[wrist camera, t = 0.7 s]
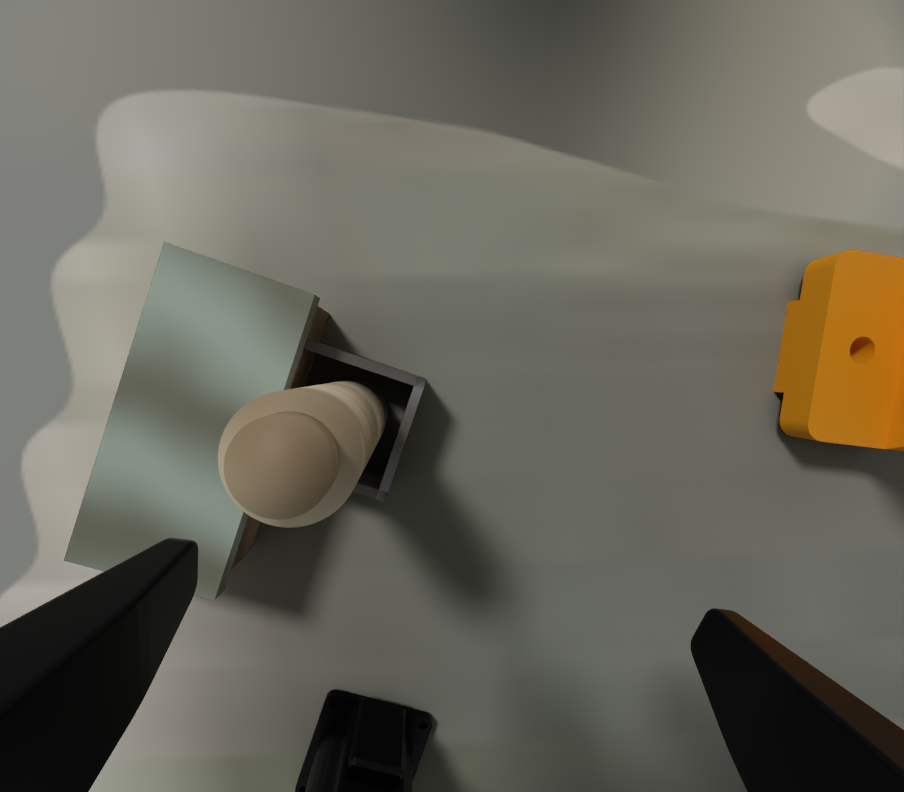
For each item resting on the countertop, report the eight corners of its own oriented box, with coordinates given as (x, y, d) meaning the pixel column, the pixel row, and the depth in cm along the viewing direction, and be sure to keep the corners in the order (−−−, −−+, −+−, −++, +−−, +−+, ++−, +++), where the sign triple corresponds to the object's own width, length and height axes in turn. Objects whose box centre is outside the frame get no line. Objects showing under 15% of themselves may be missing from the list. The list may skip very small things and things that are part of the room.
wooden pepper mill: (375, 458, 24) (328, 559, 11) (307, 436, 24) (179, 516, 11) (397, 392, 24) (376, 420, 11) (329, 370, 24) (226, 371, 11)
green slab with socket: (356, 581, 25) (341, 635, 20) (138, 519, 23) (63, 560, 18) (436, 345, 24) (441, 339, 19) (218, 269, 23) (164, 241, 18)
